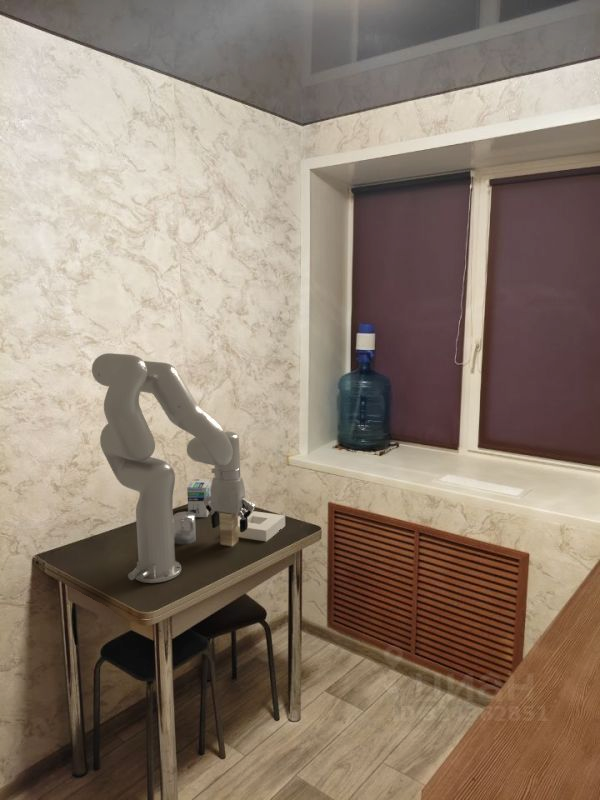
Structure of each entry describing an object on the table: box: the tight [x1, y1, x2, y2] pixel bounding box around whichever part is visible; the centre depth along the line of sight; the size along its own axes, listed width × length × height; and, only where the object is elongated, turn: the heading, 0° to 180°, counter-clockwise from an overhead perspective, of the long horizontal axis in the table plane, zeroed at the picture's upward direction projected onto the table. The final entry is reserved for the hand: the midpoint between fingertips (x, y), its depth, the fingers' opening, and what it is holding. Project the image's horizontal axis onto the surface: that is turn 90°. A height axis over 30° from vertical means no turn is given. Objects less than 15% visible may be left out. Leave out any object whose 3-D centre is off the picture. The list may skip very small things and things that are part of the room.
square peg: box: [219, 512, 240, 547], centre depth 176 cm, size 4×4×10 cm
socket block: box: [238, 509, 286, 542], centre depth 186 cm, size 14×14×4 cm
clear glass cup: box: [173, 511, 197, 545], centre depth 178 cm, size 7×7×8 cm
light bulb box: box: [186, 478, 212, 518], centre depth 203 cm, size 11×7×11 cm, turn 179°
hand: (229, 528), depth 176 cm, fingers open, 9 cm apart
